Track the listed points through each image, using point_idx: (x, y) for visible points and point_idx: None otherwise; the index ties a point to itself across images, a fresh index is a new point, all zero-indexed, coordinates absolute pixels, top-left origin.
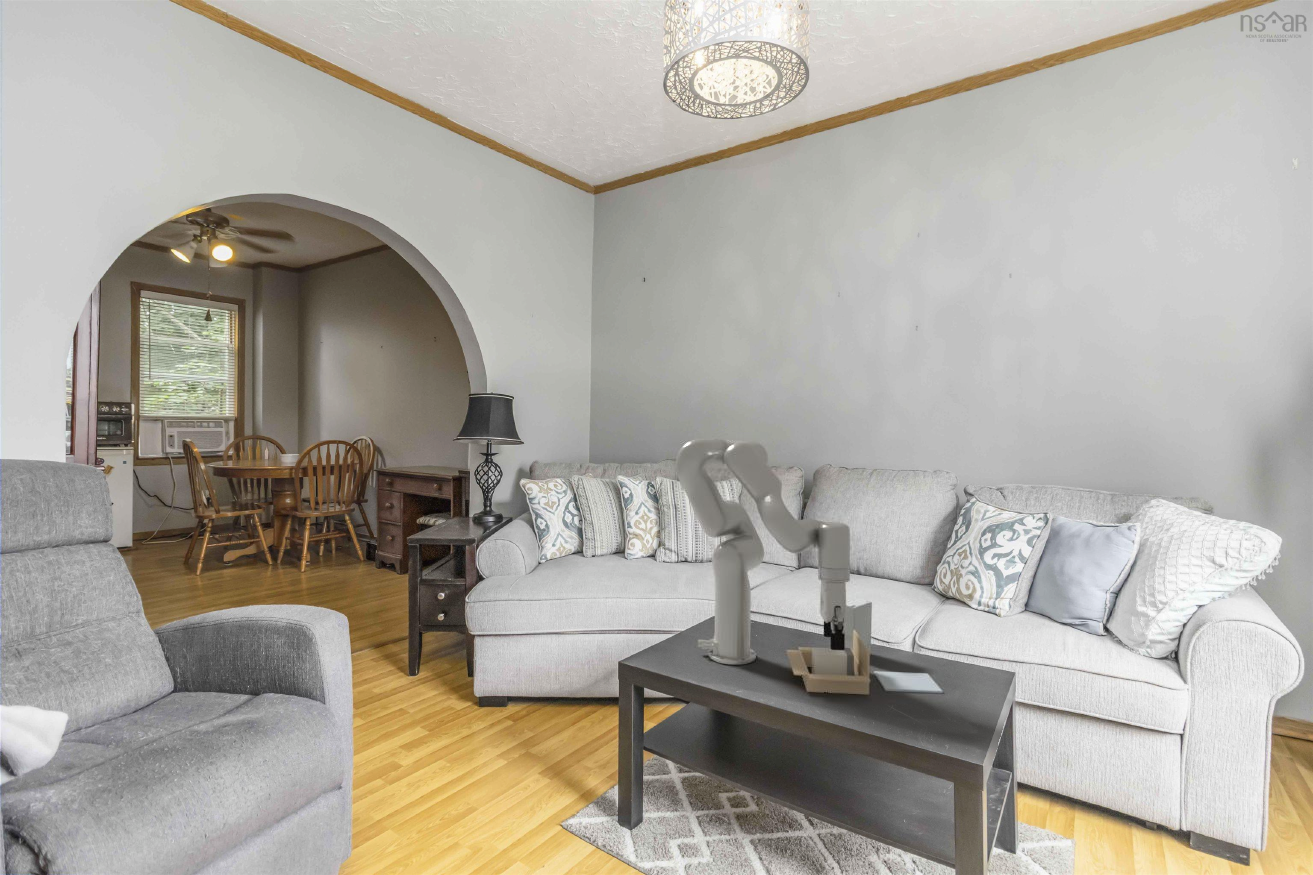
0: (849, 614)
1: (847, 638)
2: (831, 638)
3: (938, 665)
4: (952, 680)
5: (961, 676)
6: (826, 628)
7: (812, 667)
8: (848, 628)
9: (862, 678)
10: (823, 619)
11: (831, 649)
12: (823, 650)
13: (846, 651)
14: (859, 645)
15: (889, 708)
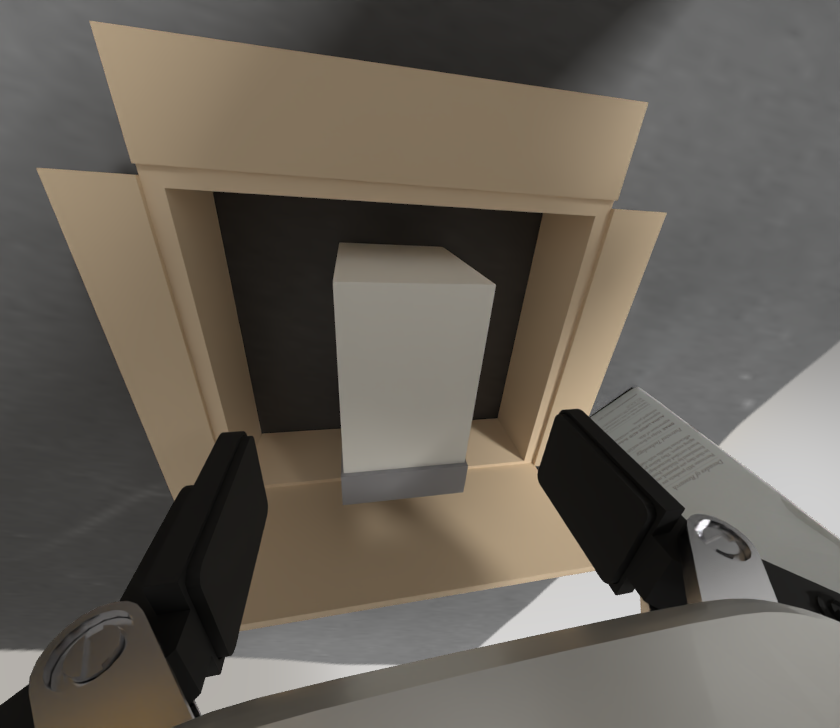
0: None
1: (651, 471)
2: (180, 521)
3: (506, 592)
4: (411, 608)
5: (437, 620)
6: (594, 469)
7: (427, 254)
8: (687, 515)
9: (191, 475)
10: (357, 704)
11: (222, 432)
12: (429, 356)
13: (404, 476)
14: (424, 553)
15: (131, 486)
